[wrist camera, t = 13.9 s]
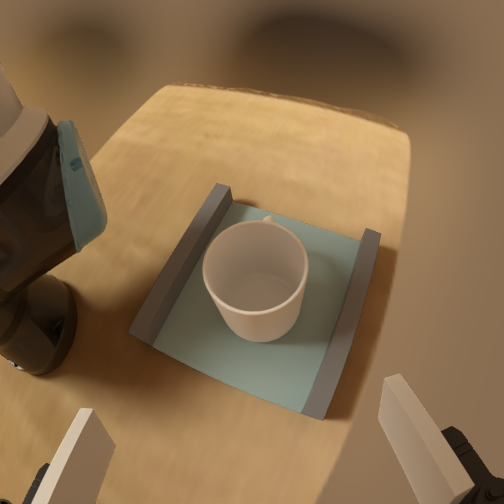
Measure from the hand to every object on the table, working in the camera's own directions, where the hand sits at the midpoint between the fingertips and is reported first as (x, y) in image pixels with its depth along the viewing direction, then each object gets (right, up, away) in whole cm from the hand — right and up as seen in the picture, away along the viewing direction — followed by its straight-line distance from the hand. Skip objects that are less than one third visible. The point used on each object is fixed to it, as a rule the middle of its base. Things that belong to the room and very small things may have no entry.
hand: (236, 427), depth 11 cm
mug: (+2, +3, +23) cm, 23 cm away
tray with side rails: (+2, +2, +24) cm, 24 cm away
